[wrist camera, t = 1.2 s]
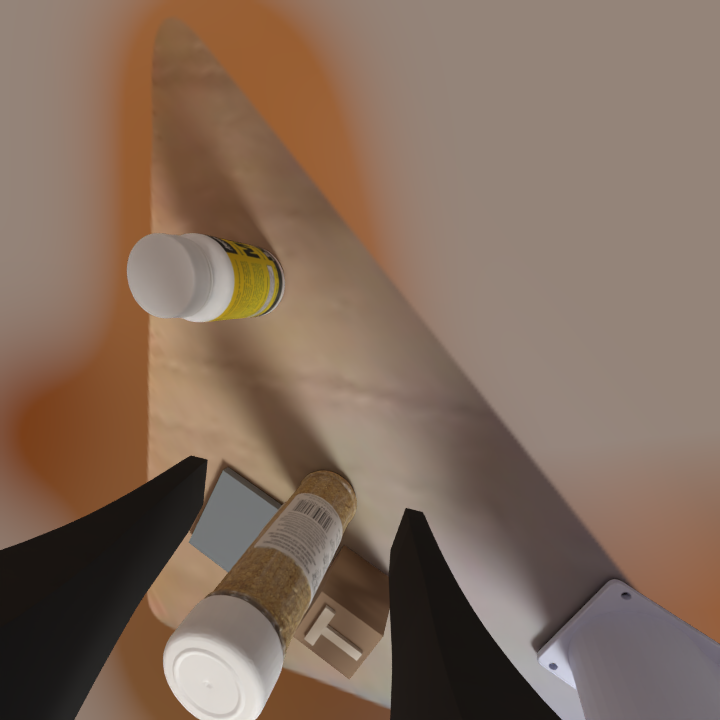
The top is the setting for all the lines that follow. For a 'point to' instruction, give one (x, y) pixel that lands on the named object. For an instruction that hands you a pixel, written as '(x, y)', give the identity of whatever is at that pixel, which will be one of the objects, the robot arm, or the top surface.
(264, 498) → the grey mat
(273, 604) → the sprinkles bottle
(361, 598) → the walnut block
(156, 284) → the supplement bottle
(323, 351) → the top surface
